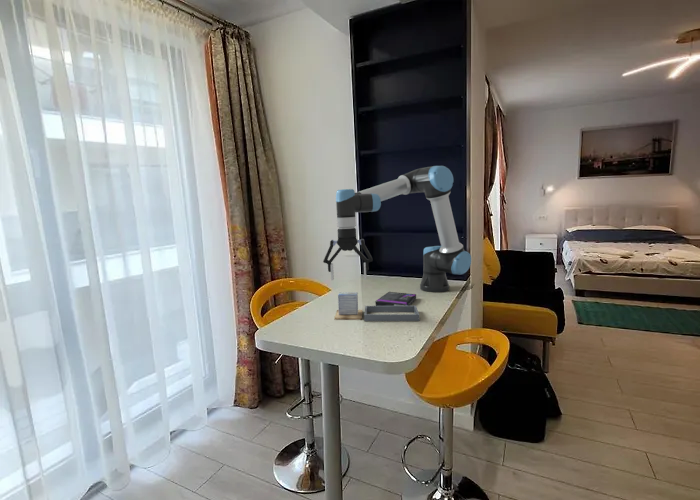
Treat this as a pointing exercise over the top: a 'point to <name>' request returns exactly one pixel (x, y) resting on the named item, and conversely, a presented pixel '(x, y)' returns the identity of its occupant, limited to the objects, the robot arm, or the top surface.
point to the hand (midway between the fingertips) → (348, 279)
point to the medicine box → (348, 303)
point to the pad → (348, 316)
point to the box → (396, 299)
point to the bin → (391, 316)
